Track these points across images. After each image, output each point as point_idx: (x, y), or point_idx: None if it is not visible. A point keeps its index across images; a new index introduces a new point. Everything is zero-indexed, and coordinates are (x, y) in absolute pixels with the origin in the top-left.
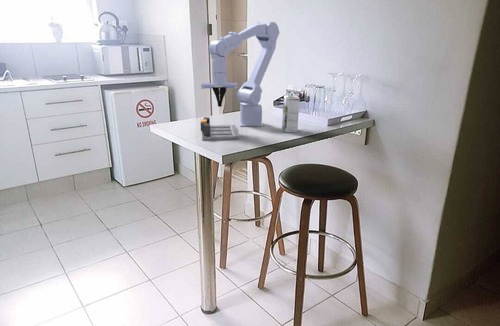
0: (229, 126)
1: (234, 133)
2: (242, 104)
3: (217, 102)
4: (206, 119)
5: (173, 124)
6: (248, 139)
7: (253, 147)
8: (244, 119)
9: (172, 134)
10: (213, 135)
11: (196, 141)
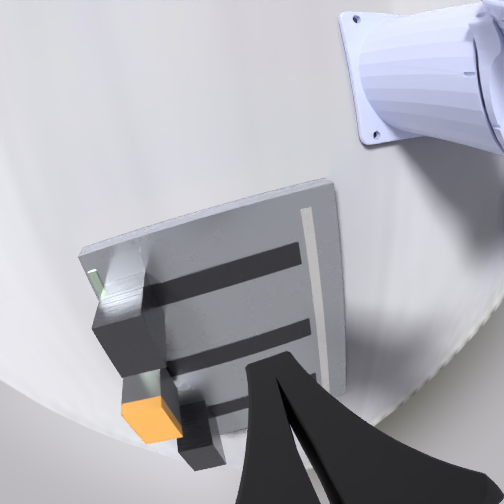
0: (296, 233)
1: (329, 366)
2: (499, 132)
3: (251, 403)
4: (162, 409)
5: None
6: (375, 368)
7: (373, 422)
8: (412, 128)
9: (14, 384)
10: (230, 417)
11: (168, 442)
